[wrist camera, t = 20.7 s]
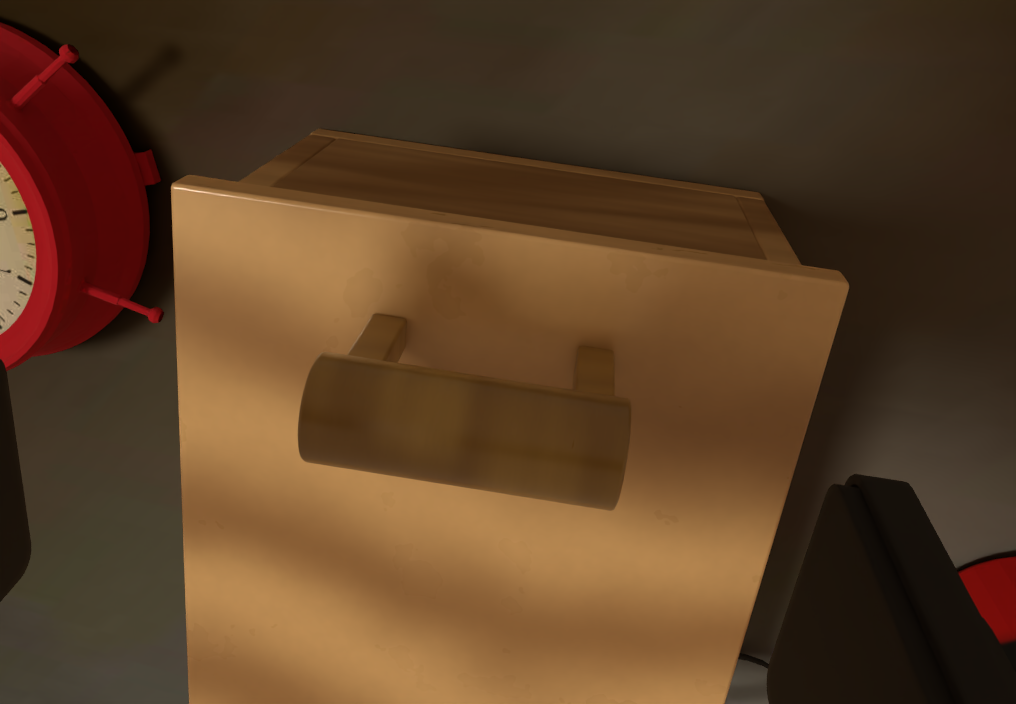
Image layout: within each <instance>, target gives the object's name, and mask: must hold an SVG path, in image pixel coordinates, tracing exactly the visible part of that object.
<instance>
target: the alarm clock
mask: <svg viewBox="0 0 1016 704" xmlns="http://www.w3.org/2000/svg"><path fill="white" fill-rule="evenodd" d="M59 54H60V56H58V55H57V54H55V53H54V52H53V51H51V50H50V49H49V48H48V47H46V46H45V45H43V44H42V43H40V42H38V41H37V40H35V39H34V38H32V37H30V36H28V35H27V34H25V33H23V32H21V31H19V30H17V29H15V28H13V27H11V26H9V25H6V24H3V23H1V22H0V359H1V360H2V361H3V363H4V364H5V368H6V371H8V370H10V369H12V368H14V367H16V366H18V365H20V364H21V363H23V362H25V361H26V360H28V359H29V358H30V357H32V356H40V355H47V354H52V353H56V352H59V351H63V350H66V349H68V348H71V347H73V346H76V345H78V344H80V343H82V342H84V341H86V340H87V339H89V338H90V337H92V336H94V335H95V334H96V333H98V332H99V331H100V330H102V329H103V328H104V327H105V326H106V325H108V324H109V323H110V322H111V321H112V320H113V319H115V317H116V316H117V315H118V314H119V313H120V312H121V311H122V310H123V308H124V307H126V308H128V309H131V310H133V311H136V312H139V313H141V314H144V315H146V316H148V319H149V321H150V322H153V323H159V322H160V321H161V320H162V318H163V315H164V312H163V311H162V309H161V308H158V307H154V308H152V309H149V308H146V307H144V306H142V305H139V304H137V303H135V302H132V301H130V298H131V296H132V295H133V293H134V292H135V290H136V288H137V285H138V283H139V281H140V279H141V276H142V273H143V270H144V267H145V263H146V258H147V253H148V246H149V235H150V224H149V207H148V200H147V194H146V189H145V186H144V185H151V184H156V183H158V182H160V181H161V179H160V175H159V172H158V169H157V166H156V163H155V160H154V157H153V153H152V150H151V149H150V150H148V151H146V152H141V153H135V154H134V153H133V151H132V148H131V146H130V144H129V142H128V140H127V138H126V136H125V134H124V132H123V130H122V129H121V127H120V125H119V123H118V122H117V120H116V119H115V117H114V116H113V114H112V113H111V111H110V110H109V108H108V107H107V106H106V104H105V103H104V101H103V100H102V99H101V98H100V96H99V95H98V94H97V93H96V92H95V91H94V89H93V88H92V87H91V86H90V85H89V84H88V82H87V81H86V80H85V79H84V78H83V77H82V76H81V75H80V74H78V73H77V72H76V71H75V70H74V69H73V68H72V67H71V66H70V65H69V64H68V63H75V62H76V61H77V60H78V57H79V52H78V50H77V49H76V48H75V47H74V46H72V45H63V46H62V47H61V48H60V49H59ZM67 62H68V63H67Z"/></svg>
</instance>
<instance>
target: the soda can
mask: <svg viewBox="0 0 1016 704" xmlns="http://www.w3.org/2000/svg"><path fill="white" fill-rule="evenodd" d="M958 574H959V576H960V577H961V579H962V581H963V583H964V585H965V587H966V589H967V590H968V592H969V594H970V596H971V598H972V600H973V602H974V603H975V605H976V607H977V609H978V611H979V613H980V615H981V616H982V617H983V618H984V619H985V620H986V622H987V623H988V624H989V626H990V627H991V628H992V630H993V632H994V634H995V635H996V637H997V639H998V641H999V643H1000V645H1001V646H1002V648H1003V650H1004V652H1005V654H1006V656H1007V657H1008V659H1009V661H1010V663H1011V665H1012V667H1013V668H1014V670H1015V672H1016V556H1014V557H1007V558H999V559H993V560H989V561H986V562H983V563H979V564H976V565H972V566H970V567H968V568H966V569H963V570H961V571H959V572H958Z"/></svg>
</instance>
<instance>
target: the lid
mask: <svg viewBox="0 0 1016 704" xmlns="http://www.w3.org/2000/svg"><path fill="white" fill-rule="evenodd" d="M171 203H172V231H173V260H174V288H175V317H176V345H177V373H178V402H179V430H180V459H181V487H182V515H183V544H184V572H185V601H186V629H187V657H188V686H189V704H725V700H726V697H727V694H728V690H729V687H730V684H731V680H732V677H733V674H734V670H735V667H736V664H737V660H738V657H739V654H740V650H741V647H742V644H743V640H744V637H745V634H746V630H747V627H748V624H749V620H750V617H751V614H752V610H753V607H754V604H755V600H756V597H757V594H758V590H759V587H760V584H761V580H762V577H763V574H764V570H765V567H766V564H767V560H768V557H769V554H770V550H771V547H772V544H773V540H774V537H775V534H776V530H777V527H778V524H779V520H780V517H781V514H782V510H783V507H784V504H785V500H786V497H787V494H788V490H789V487H790V484H791V480H792V477H793V474H794V470H795V467H796V464H797V460H798V457H799V454H800V450H801V447H802V444H803V440H804V437H805V434H806V430H807V427H808V424H809V420H810V417H811V414H812V410H813V407H814V404H815V400H816V397H817V394H818V390H819V387H820V384H821V380H822V377H823V374H824V370H825V367H826V364H827V360H828V357H829V354H830V350H831V347H832V344H833V340H834V337H835V334H836V330H837V327H838V324H839V320H840V317H841V314H842V310H843V307H844V304H845V300H846V297H847V294H848V290H849V283H848V282H847V280H846V279H845V277H844V276H843V275H842V273H841V272H839V271H837V270H831V269H824V268H817V267H810V266H804V265H797V264H790V263H783V262H776V261H770V260H763V259H756V258H749V257H743V256H736V255H729V254H722V253H716V252H709V251H702V250H695V249H688V248H682V247H675V246H668V245H661V244H655V243H648V242H641V241H634V240H628V239H621V238H614V237H607V236H600V235H594V234H587V233H580V232H573V231H567V230H560V229H553V228H546V227H540V226H533V225H526V224H519V223H512V222H506V221H499V220H492V219H485V218H479V217H472V216H465V215H458V214H452V213H445V212H438V211H431V210H425V209H418V208H411V207H404V206H397V205H391V204H384V203H377V202H370V201H364V200H357V199H350V198H343V197H337V196H330V195H323V194H316V193H309V192H303V191H296V190H289V189H282V188H276V187H269V186H262V185H255V184H249V183H242V182H235V181H228V180H221V179H215V178H208V177H201V176H194V175H187V176H185V177H183V178H181V179H179V180H178V181H176V182H174V183H172V186H171Z"/></svg>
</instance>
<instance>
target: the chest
mask: <svg viewBox="0 0 1016 704" xmlns="http://www.w3.org/2000/svg"><path fill="white" fill-rule="evenodd" d="M239 182H242V183H249V184H255V185H262V186H269V187H276V188H282V189H289V190H296V191H303V192H309V193H316V194H323V195H330V196H337V197H343V198H350V199H357V200H364V201H370V202H377V203H384V204H391V205H397V206H404V207H411V208H418V209H425V210H431V211H438V212H445V213H452V214H458V215H465V216H472V217H479V218H485V219H492V220H499V221H506V222H512V223H519V224H526V225H533V226H540V227H546V228H553V229H560V230H567V231H573V232H580V233H587V234H594V235H600V236H607V237H614V238H621V239H628V240H634V241H641V242H648V243H655V244H661V245H668V246H675V247H682V248H688V249H695V250H702V251H709V252H716V253H722V254H729V255H736V256H743V257H749V258H756V259H763V260H770V261H776V262H783V263H790V264H797V265H801V263H800V261H799V259H798V258H797V256H796V254H795V253H794V251H793V249H792V248H791V246H790V244H789V243H788V241H787V239H786V237H785V236H784V234H783V232H782V231H781V229H780V227H779V226H778V224H777V222H776V221H775V219H774V217H773V215H772V214H771V212H770V210H769V209H768V207H767V205H766V204H765V202H764V199H763V197H762V196H761V194H760V193H759V192H753V191H746V190H739V189H732V188H725V187H718V186H711V185H704V184H697V183H691V182H684V181H677V180H670V179H663V178H656V177H649V176H642V175H635V174H628V173H621V172H615V171H608V170H601V169H594V168H587V167H580V166H573V165H566V164H559V163H552V162H546V161H539V160H532V159H525V158H518V157H511V156H504V155H497V154H490V153H483V152H476V151H470V150H463V149H456V148H449V147H442V146H435V145H428V144H421V143H414V142H407V141H401V140H394V139H387V138H380V137H373V136H366V135H359V134H352V133H345V132H338V131H331V130H325V129H317V130H315V131H314V132H312V133H311V134H310V135H309V136H307V137H306V138H304V139H302V140H301V141H299V142H298V143H296V144H295V145H293V146H292V147H290V148H289V149H287V150H286V151H284V152H283V153H281V154H280V155H278V156H277V157H275V158H274V159H272V160H271V161H269V162H268V163H266V164H265V165H263V166H262V167H260V168H259V169H257V170H256V171H254V172H252V173H251V174H249V175H248V176H246V177H245V178H243V179H242V180H240V181H239Z"/></svg>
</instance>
